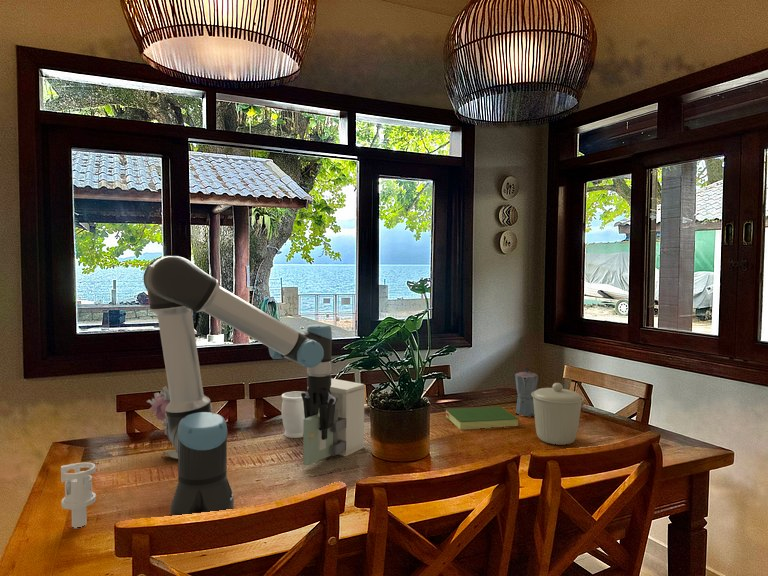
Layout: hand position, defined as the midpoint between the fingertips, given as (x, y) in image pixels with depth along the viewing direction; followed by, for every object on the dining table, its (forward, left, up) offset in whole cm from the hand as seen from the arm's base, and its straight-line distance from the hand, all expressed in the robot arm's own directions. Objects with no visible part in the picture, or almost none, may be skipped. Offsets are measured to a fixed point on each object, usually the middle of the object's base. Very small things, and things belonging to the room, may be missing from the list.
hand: (318, 448), depth 163 cm
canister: (+67, -55, -5) cm, 87 cm away
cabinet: (+12, +5, -5) cm, 14 cm away
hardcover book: (+72, -23, -6) cm, 76 cm away
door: (+1, 0, -3) cm, 4 cm away
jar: (+16, +25, -5) cm, 30 cm away
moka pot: (+93, -35, -5) cm, 100 cm away
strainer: (-62, +21, -5) cm, 66 cm away
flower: (-18, +44, -5) cm, 48 cm away
